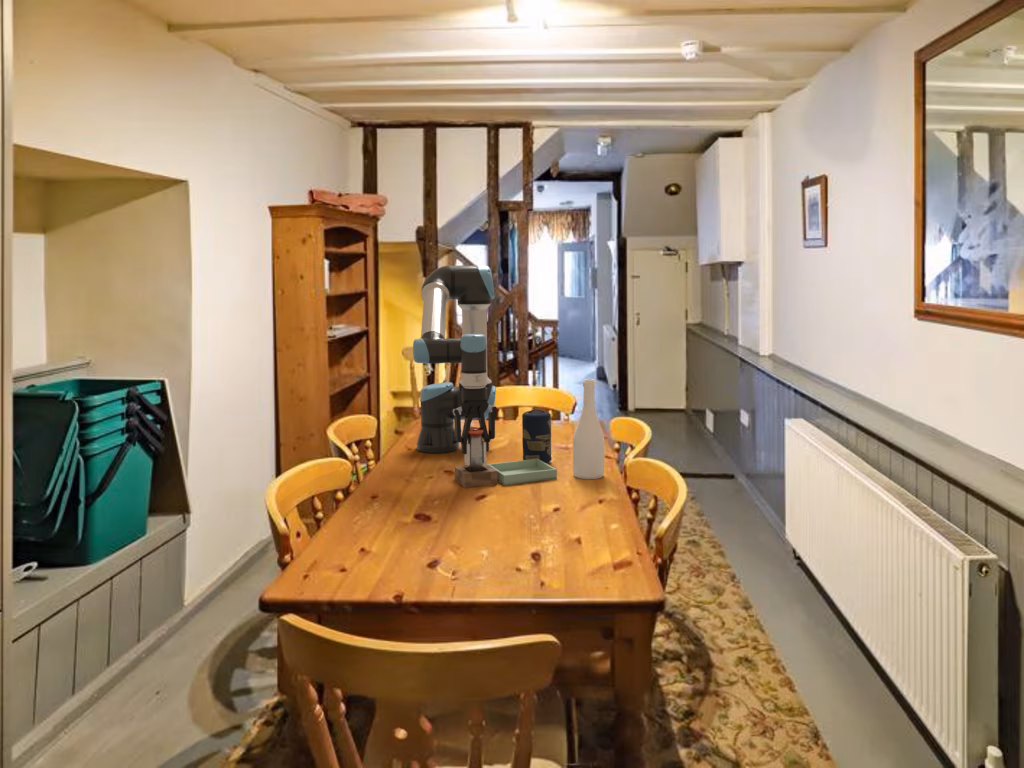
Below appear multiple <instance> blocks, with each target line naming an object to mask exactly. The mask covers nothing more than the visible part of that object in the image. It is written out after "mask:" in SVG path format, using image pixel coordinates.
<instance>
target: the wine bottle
mask: <svg viewBox="0 0 1024 768" xmlns="http://www.w3.org/2000/svg"><path fill="white" fill-rule="evenodd" d="M582 387H583V399H582V400H583V405H582V411H581V413H580V416H579V418H578V421H577V422H578V423H577V425H576V427H575V430H574V434H573V437H572V440H573V441H572V472H573V475H574V477H576V478H579V479H580V480H597V479H600V478H602V477H603V476H604V474H605V436H604V432H603V429H602V427H601V426H602V425H601V422H600V420H599V417H598V414H597V411H596V406H595V401H596V400H595V388H596V381H595V379H593V378H585V379H583V380H582Z"/></svg>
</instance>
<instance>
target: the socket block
mask: <svg viewBox="0 0 1024 768" xmlns="http://www.w3.org/2000/svg"><path fill="white" fill-rule="evenodd" d="M487 464H488V463H486V464H484V463H483V471H477V472H468V465H466V464H465V465H457V466H454V480H455V481H456V482H457V483H459V484H460V485H461V486H463V488H465V489H469V488H477V487H478V488H479V487H485V486H492V485H493V486H494V485H498V481H497V471H496V470H495V469H493V468H492V467H490V466H489V465H487Z"/></svg>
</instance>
